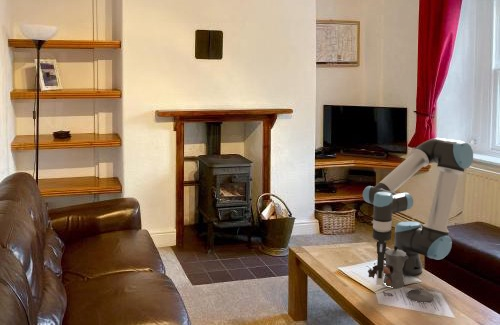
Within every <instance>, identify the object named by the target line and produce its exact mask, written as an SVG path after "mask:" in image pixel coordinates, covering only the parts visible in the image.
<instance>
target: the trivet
mask: <svg viewBox="0 0 500 325" xmlns="http://www.w3.org/2000/svg"><path fill="white" fill-rule="evenodd" d="M406 297H407V299H409V300H410V299H411V301H413V302H415V301H417V302H416V303H421V302H423V303H424V302H428V303H431V301H432V302H433V301H434V300H435V294H433V293H432V292H430V291H429V290H428V291H427V290H425V289H417V288H415V289H410V290H407V292H406ZM424 304H425V303H424Z"/></svg>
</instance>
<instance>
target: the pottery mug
mask: <svg viewBox="0 0 500 325" xmlns="http://www.w3.org/2000/svg"><path fill="white" fill-rule="evenodd" d="M389 268H390V271H389ZM375 269H377V264H376V265H373V266H372V269H371V268H369V269H368V270H367V273H368V278H372V279H375V276H377V271H376V270H375ZM383 269H384V275H385V274H386V276H387V277H389V278H388V279H387V280H386V282H387V285H390V284H391V283H392V282H393V280H392V276H391V275H392V273H393V271H394V267H393V266H392V265H391V264H389V265H383Z"/></svg>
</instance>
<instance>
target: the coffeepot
mask: <svg viewBox="0 0 500 325" xmlns="http://www.w3.org/2000/svg"><path fill="white" fill-rule="evenodd" d="M397 248H398V247H397V246H394V245H393V248H388V247H386V250H385V257H384V258H386V261H385V262H384V266H386V265H389V264H391V265H392V266H393V267H394V271H393V273H392V275H391V276H392V280H393V282H392V283H391V284H390V285H387V282H386V280H387V279H388V278H389V277H387V276H386V274H385V273H384V276H383V282H384V283H386V285H387V286H391V287H393V288H392V289H401V288H403V287H404V285H405V280H404V278H405V276H404V275H403V271H402V268H403V267H404V262H405V261H406V259H408V256H407V255H406V252H404V251H402V250H398V249H397ZM389 271H390V268H389ZM387 286H386V287H387Z"/></svg>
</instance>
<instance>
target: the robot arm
mask: <svg viewBox="0 0 500 325" xmlns="http://www.w3.org/2000/svg"><path fill="white" fill-rule="evenodd" d="M473 160H474V152H473V149H472V146H471V144H469V143H468V142H466V141H462V140H458V139H457V140H456V139H447V138H441V137H433V138H430V139H428V140H426V141H424V142H422V143H420V144H419V145H417V146H416V147H415V148H413V150H412V151H411V152H410V154H409V156H408V157H407V158H406V159H404V160H403V161H402V162H401V163H400V164H399V165H398V166H396V167H395V168H394V169H393V170H391V172H389V173H388V174H387V175H386V176H385V177H384V178H383V179H382V180H380V181H379V182H378V183H377V184H376V185H375V186H373V185H372V186H371V185H368V186H366V187H365V188H364V190H363V191H362V198H363V201H365V202H366V203H368V204H371V205H373V215H372V216H373V219H372V220H371V224H372V228H373V229H372V238H373V239H374V240H375V241H376V253H377V262H376V263H377V264H376V265H377V269H375V270H376V271H377V275H376V285H377V286H384V284H383V282H384V277H385V273H384V269H383V265H384V263H386V258H385V250H386V248H387V245H388V244H387V241H390V240H391V239H392V228H393V227H392V226H393V225H392V224H393V214H397V213H401V212H406V211H408V210H410V209H412V207H413V206H414V197H413V196H412V195H411V194H410V193H409V192H400V193H399V192H396V191H397V190H398V189H400V187H402V186H403V185H404V184H405V183H406V182H407V181H408V180H410V178H412V177H413V176H414V175H415V174H416V173H417V172H418V171H420V170H421V169H422V168H423V167H424V168H426V167H427V166H428V165H430V164H437V165H436V168H437V169H438V170H439V172H438V176H437V180H436V184H435V187H434V188H435V189H434V192H433V196H432V200H431V205H430V208H429V213H428V216H427V221H426V222H425V223H423V225H422V224H421V222H419V221H411V220H410V221H409V220H408V221H401V222H398V223H396V224H395V229H394V241H393V242H394V245H393V247H394V246H397V247H398V248H397V249H398V250H402V251H404V252H406V255H407V256H408V259H406V261H405V262H404V267H403V268H402V271H403V274H405V276H416V275H419V274H421V273H423V264H422V261H421V257H420V255H422V256H425V257H427V258H428V259H433V260H437V261H438V260H443V259H444V258H445V257H446V256H448V255H449V254H450V252H451V249H452V245H453V240H452V238H451V237H450V236H449V233H450V231H449V229H448V223H449V219H450V214H451V210H452V206H453V202H454V198H455V194H456V192H457V191H456V190H457V187H458V183H459V178H460V176H461V175H463V174H464V173H465V170H466V169H468V168H470V166H471V165H472V164H473ZM384 266H385V265H384Z"/></svg>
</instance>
